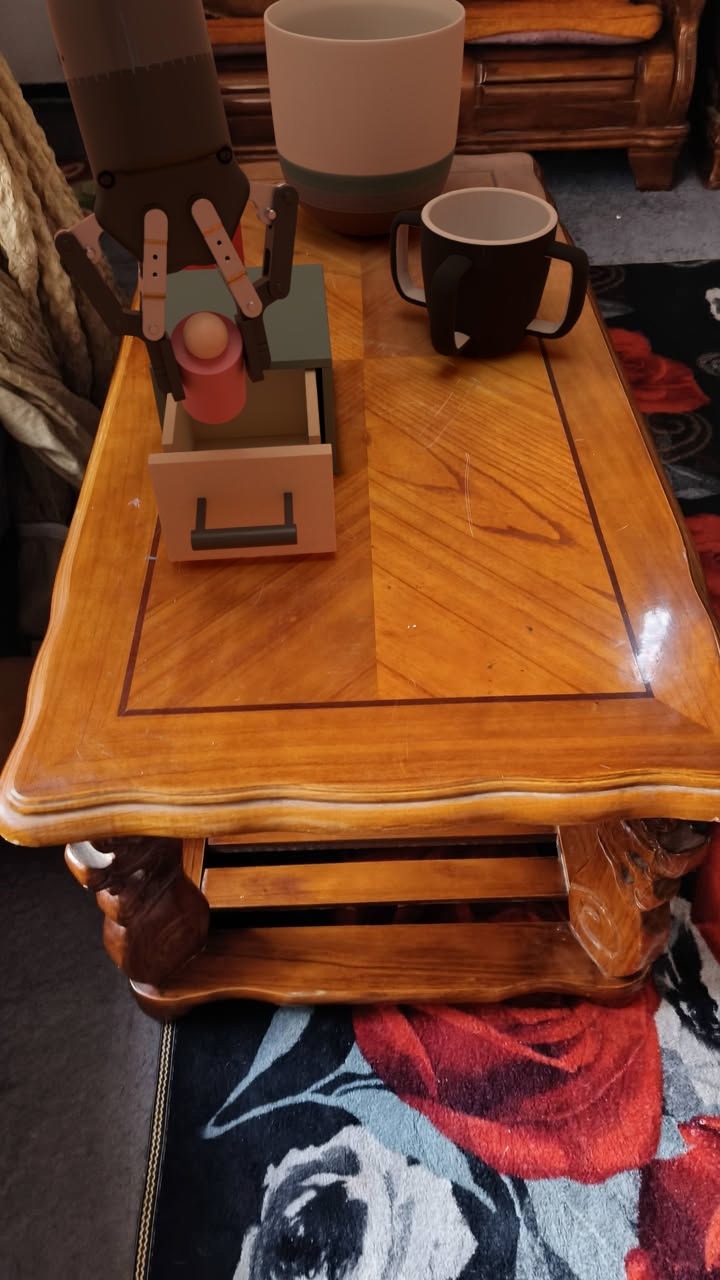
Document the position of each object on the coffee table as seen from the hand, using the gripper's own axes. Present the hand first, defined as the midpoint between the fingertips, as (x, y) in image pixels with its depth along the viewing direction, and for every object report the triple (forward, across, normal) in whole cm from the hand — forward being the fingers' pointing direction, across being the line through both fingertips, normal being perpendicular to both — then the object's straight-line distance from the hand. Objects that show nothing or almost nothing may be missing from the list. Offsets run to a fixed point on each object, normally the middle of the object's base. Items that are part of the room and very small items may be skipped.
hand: (218, 386), depth 57 cm
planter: (+3, +27, +59) cm, 65 cm away
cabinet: (+11, +4, +24) cm, 27 cm away
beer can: (+5, +6, +47) cm, 47 cm away
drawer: (+14, +1, +11) cm, 17 cm away
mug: (+11, +29, +32) cm, 44 cm away
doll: (+2, 0, +4) cm, 5 cm away
